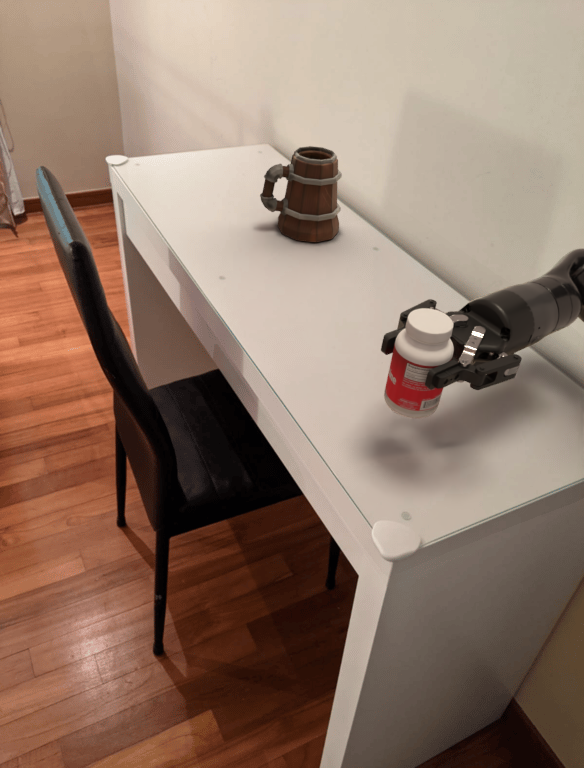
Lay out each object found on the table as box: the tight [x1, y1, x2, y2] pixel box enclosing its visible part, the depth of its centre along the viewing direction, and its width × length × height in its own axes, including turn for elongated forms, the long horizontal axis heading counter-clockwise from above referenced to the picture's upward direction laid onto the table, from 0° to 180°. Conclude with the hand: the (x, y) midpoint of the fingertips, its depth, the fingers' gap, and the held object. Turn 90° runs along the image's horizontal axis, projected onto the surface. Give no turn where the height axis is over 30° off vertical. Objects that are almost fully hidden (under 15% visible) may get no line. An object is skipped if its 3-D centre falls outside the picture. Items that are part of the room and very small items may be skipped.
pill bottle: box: [383, 308, 454, 419], centre depth 66 cm, size 6×6×11 cm
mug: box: [259, 145, 343, 243], centre depth 116 cm, size 16×12×15 cm
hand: (406, 362), depth 64 cm, fingers closed on pill bottle, 6 cm apart
